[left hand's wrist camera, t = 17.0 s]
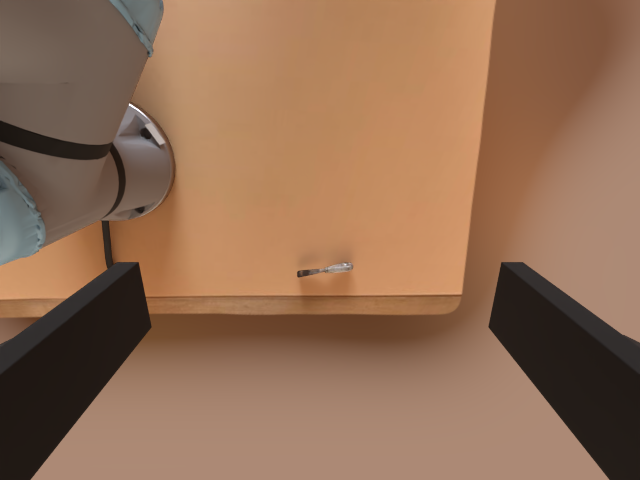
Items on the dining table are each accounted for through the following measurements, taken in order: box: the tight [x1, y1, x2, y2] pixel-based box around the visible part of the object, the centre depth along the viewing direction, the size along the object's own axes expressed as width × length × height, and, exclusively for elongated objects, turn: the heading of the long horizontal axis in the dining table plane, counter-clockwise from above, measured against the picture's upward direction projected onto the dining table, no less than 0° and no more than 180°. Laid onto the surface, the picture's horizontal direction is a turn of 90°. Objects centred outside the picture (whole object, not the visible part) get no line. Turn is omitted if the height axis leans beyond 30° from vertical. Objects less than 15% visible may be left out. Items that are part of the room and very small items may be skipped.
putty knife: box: [297, 263, 353, 277], centre depth 48 cm, size 1×8×2 cm, turn 100°
